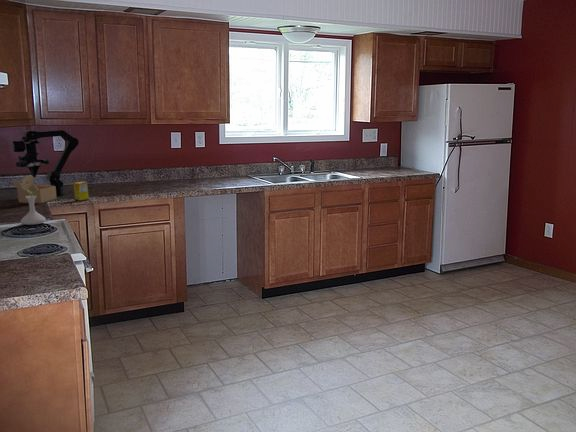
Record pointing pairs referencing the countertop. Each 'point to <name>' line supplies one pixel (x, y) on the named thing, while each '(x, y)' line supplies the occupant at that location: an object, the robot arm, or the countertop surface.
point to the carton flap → (19, 186)
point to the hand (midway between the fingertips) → (34, 177)
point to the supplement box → (81, 191)
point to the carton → (38, 194)
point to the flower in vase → (31, 204)
